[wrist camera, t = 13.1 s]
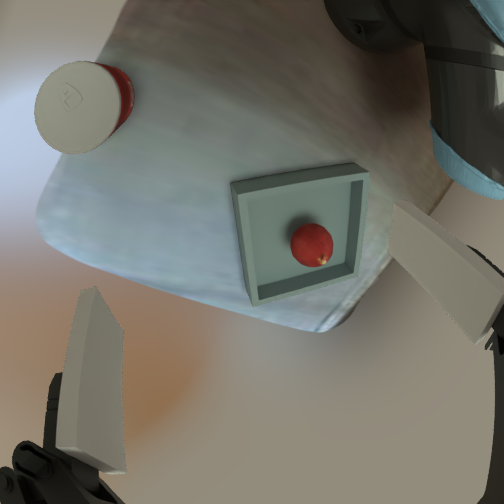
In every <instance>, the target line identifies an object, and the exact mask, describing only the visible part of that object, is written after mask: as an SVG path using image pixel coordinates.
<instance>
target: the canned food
mask: <svg viewBox="0 0 504 504" xmlns="http://www.w3.org/2000/svg"><path fill="white" fill-rule="evenodd" d="M133 105H134V89H133V86H132V83H131V81H130V79H129V78H128V77H127V76H126V74H125V73H123V72H122V71H121V70H119V69H117V68H115V67H111V66H107V65H103V64H99V63H94V62H88V61H77V62H72V63H68V64H65V65H63V66H61V67H59V68H58V69H57V70H55V71H54V72H52V73H51V74H50V75H49V76H48V77H47V78H46V80H45V81H44V83H43V84H42V86H41V88H40V89H39V92H38V94H37V97H36V102H35V111H34V115H35V122H36V125H37V128H38V131H39V133H40V134H41V136H42V138H43V139H44V140H45V141H46V143H47V144H48V145H50V146H51V147H52V148H54V149H56V150H58V151H60V152H63V153H67V154H80V153H85V152H87V151H90V150H92V149H95V148H96V147H98V146H99V145H101V144H102V143H103V142H104V141H106V140H107V139H108V138H109V137H110V136H111V135H112V134H113V133H114V132H115V131H116V130H117V129H118V128H119V127H120V126H121V125H122V124H123V123H124V122H125V120H126V119H127V118H128V116H129V115H130V113H131V111H132V108H133Z"/></svg>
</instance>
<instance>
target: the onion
mask: <svg viewBox="0 0 504 504" xmlns="http://www.w3.org/2000/svg"><path fill="white" fill-rule="evenodd" d="M333 245H334V244H333V240H332V236H331V234H330V233H329V232H328V231H327V230H326V228H325V227H323V226H321V225H319V224H316V223H306V224H304V225H302V226H300V227H299V228H298V229H296V230H295V232H294V233H293V235H292V238H291V243H290V248H291V252H292V256H293V257H294V258H295V259H296V260H297V261H298V262H299V263H300V264H302V265H304V266H307V267H320V266H322V265H325V264H326V263H327V262H328V261H329V259H330V258H331V256H332V254H333Z"/></svg>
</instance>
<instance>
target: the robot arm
mask: <svg viewBox="0 0 504 504" xmlns="http://www.w3.org/2000/svg"><path fill="white" fill-rule="evenodd" d="M325 4H326V7H327V10H328V13H329V15H330V17H331V19H332V20H333V22H334V24H335V25H336V27H337V28H338V29H339V30H340V32H341V33H342V34H343V35H344V36H345V37H346V38H347V39H348V40H350V41H351V42H352V43H354V44H355V45H357V46H358V47H360V48H362V49H364V50H367V51H370V52H374V53H387V54H392V53H399V52H402V51H404V50H407V49H409V48H411V47H414V46H416V45H418V44H421V43H423V45H424V50H425V58H426V64H427V71H428V79H429V89H430V102H431V120H430V128H431V130H432V138H433V152H434V156H435V159H436V161H437V163H438V164H439V166H440V167H441V168H442V169H443V170H444V171H445V172H446V173H447V175H448V176H449V177H451V178H452V179H453V180H454V181H456V182H457V183H459V184H460V185H462V186H463V187H465V188H467V189H469V190H471V191H473V192H475V193H477V194H480V195H482V196H485V197H488V198H492V199H498V200H502V199H503V198H504V0H325ZM388 253H389V254H390V255H391V256H392V257H393V258H395V259H396V260H397V261H398V262H399V263H400V264H401V265H402V266H403V267H404V268H405V269H406V270H407V271H408V272H409V273H410V275H411V276H413V278H414V279H415V280H417V282H418V283H419V284H420V285H421V286H422V287H423V288H424V289H425V290H426V291H427V292H428V293H429V294H430V295H431V296H432V297H433V299H434V300H435V301H436V302H437V303H438V304H439V305H440V306H441V307H442V308H443V310H444V311H445V312H446V313H447V314H448V315H449V316H450V317H451V319H452V320H453V321H454V322H455V323H456V324H457V325H458V327H459V328H460V329H461V330H462V331H463V332H464V334H465V335H466V336H467V337H468V338H469V339H470V341H471V342H472V343H473V344H474V345H475V344H477V343H478V342H479V341H481V340H482V339H483V338H484V337H485V336H486V335H487V333H488V331H489V330H490V328H491V327H492V328H493V329H494V332H493V334H492V335H491V337H490V338H489V340H488V342H487V343H486V345H485V350H487V348H488V347H489V346H490V344H491V343H493V344H492V346H491V348H490V350H493V354H494V370H495V420H494V435H493V445H492V454H491V462H490V469H489V474H488V480H487V486H486V490H485V493H484V495H483V497H482V498H481V499H480V501H479V502H478V503H477V504H504V273H503V272H502V271H501V270H499V268H497V267H496V266H495V265H493V264H492V262H491V261H489V260H488V259H486V257H485V256H484V255H482V254H481V253H480V252H479V251H478V250H476V249H474V248H472V247H470V246H468V245H465V244H464V243H463V242H461V241H460V240H459V239H458V238H456V237H455V236H454V235H453V234H452V233H450V232H449V231H448V230H446V229H445V228H444V227H443V226H441V225H440V224H439V223H437V222H436V221H434V220H433V219H432V218H431V217H429V216H428V215H426V214H425V213H424V212H422V211H421V210H420V209H418V208H417V207H415V206H414V205H412V204H411V203H410V202H408V201H407V200H404V201H400V202H396V203H394V206H393V216H392V225H391V233H390V240H389V247H388ZM123 338H124V330H123V329H122V327H121V326H120V324H119V323H118V321H117V320H116V318H115V317H114V315H113V313H112V312H111V310H110V309H109V307H108V305H107V304H106V302H105V301H104V299H103V297H102V296H101V294H100V292H99V290H98V289H97V287H96V286H94V287H91V288H88V289H84V290H81V291H80V294H79V298H78V302H77V306H76V310H75V314H74V318H73V323H72V327H71V331H70V336H69V341H68V346H67V352H66V357H65V363H64V369H63V372H61V373H56V374H55V376H54V378H53V380H52V382H51V384H50V386H49V393H48V401H47V412H46V416H45V427H44V439H43V448H41V447H39V446H38V445H36V444H35V443H33V442H30V441H22V442H21V443H19V444H18V445H17V446H16V448H15V450H14V453H13V456H12V464H13V468H14V470H13V469H11V468H9V467H6V466H5V467H1V468H0V502H1V504H125V503H124V502H123V501H122V500H121V499H120V498H119V497H118V496H117V495H116V494H115V493H114V492H113V491H112V490H111V489H110V487H109V486H108V485H107V484H106V483H105V482H104V481H103V480H102V479H100V478H99V471H102V472H104V473H106V474H127V470H126V459H125V447H124V433H123V407H122V406H123V405H122V362H123ZM98 470H99V471H98Z"/></svg>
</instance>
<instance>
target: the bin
mask: <svg viewBox="0 0 504 504" xmlns="http://www.w3.org/2000/svg"><path fill="white" fill-rule="evenodd" d="M369 175H370V172H369V171H367V170H365V169H364V168H362V167H360V166H359V165H357V164H355V163H348V164H340V165H333V166H326V167H319V168H312V169H306V170H299V171H293V172H287V173H281V174H275V175H270V176H264V177H259V178H253V179H248V180H243V181H238V182H233V183H230V184H231V191H232V198H233V205H234V212H235V218H236V225H237V232H238V239H239V246H240V252H241V259H242V266H243V272H244V279H245V285H246V291H247V293H248V296H249V298H250V301H251V303H252V306H253V307H254V306H258V305H261V304H265V303H269V302H272V301H276V300H280V299H283V298H287V297H290V296H294V295H297V294H301V293H304V292H308V291H311V290H315V289H318V288H321V287H325V286H328V285H331V284H334V283H338V282H341V281H344V280H347V279H351V278H354V277H357V276H358V273H359V266H360V260H361V253H362V245H363V237H364V229H365V220H366V211H367V200H368V188H369ZM306 223H316V224H319V225H321V226H323V227H325V228H326V230H327V231H328V232H329V233H330V234H331V236H332V240H333V244H334V245H333V254H332V256H331V258H330V259H329V261H328V262H327V263H326V264H325V265H322V266H320V267H307V266H304V265H302V264H300V263H299V262H298V261H297V260H296V259H295V258H294V257H293V256H292V252H291V248H290V243H291V238H292V235H293V233H294V232H295V230H296V229H298V228H299V227H300V226H302V225H304V224H306Z"/></svg>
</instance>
